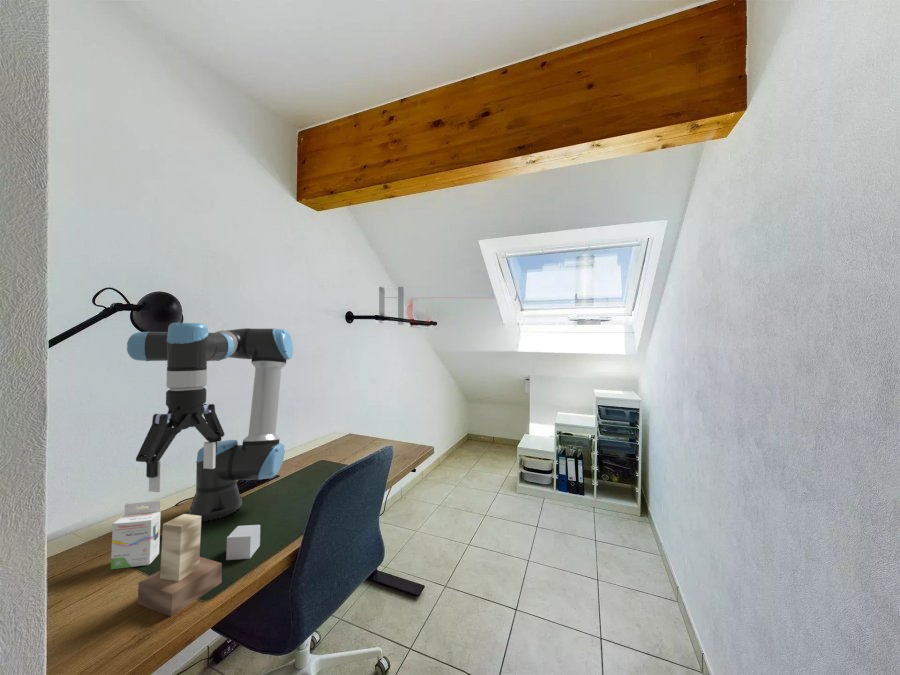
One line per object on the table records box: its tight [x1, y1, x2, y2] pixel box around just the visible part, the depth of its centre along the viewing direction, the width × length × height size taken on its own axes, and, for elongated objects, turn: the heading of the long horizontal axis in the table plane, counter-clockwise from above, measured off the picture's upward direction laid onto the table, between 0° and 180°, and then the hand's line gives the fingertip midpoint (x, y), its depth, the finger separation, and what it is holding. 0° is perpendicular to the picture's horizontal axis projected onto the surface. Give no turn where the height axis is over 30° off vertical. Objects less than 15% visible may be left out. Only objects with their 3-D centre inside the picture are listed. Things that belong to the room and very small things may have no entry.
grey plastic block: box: [225, 524, 261, 561], centre depth 94 cm, size 6×6×6 cm
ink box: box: [110, 500, 162, 570], centre depth 90 cm, size 9×5×15 cm, turn 105°
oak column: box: [159, 513, 202, 581], centre depth 79 cm, size 5×5×12 cm
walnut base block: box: [137, 556, 223, 618], centre depth 78 cm, size 11×11×5 cm
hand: (184, 478), depth 79 cm, fingers open, 13 cm apart
